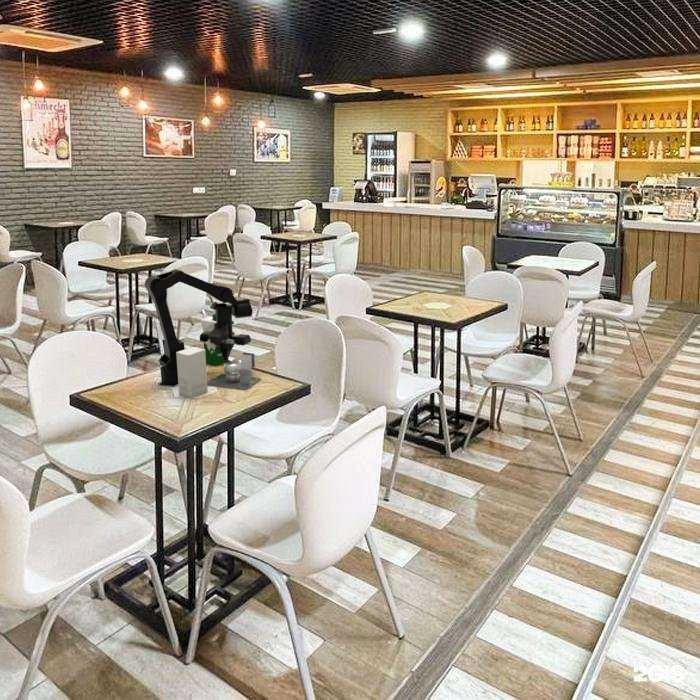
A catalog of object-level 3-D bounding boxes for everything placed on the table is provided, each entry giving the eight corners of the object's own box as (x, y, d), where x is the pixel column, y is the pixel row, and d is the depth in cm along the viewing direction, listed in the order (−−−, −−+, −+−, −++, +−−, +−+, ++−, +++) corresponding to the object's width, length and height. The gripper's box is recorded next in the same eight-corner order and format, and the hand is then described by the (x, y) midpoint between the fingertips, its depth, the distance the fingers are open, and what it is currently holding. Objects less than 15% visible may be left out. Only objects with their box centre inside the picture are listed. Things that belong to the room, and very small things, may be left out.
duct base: (205, 385, 261) (204, 368, 259) (222, 376, 272) (221, 359, 270) (246, 390, 256) (245, 372, 254) (261, 380, 267) (260, 363, 265)
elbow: (236, 379, 259) (236, 365, 258) (221, 377, 261) (220, 363, 260) (257, 367, 274) (256, 353, 273) (241, 365, 276) (241, 352, 275)
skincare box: (195, 388, 258) (193, 346, 254) (209, 392, 254) (206, 349, 250) (177, 394, 251) (175, 351, 247) (191, 398, 247) (188, 354, 243)
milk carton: (216, 367, 283) (213, 317, 278) (200, 363, 288) (197, 314, 283) (232, 362, 290) (230, 313, 285) (216, 358, 295) (213, 310, 290)
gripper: (190, 322, 264) (193, 363, 268) (236, 326, 258) (238, 368, 262) (206, 316, 274) (208, 356, 278) (250, 319, 268) (252, 360, 272)
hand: (226, 360), depth 273 cm, fingers closed
